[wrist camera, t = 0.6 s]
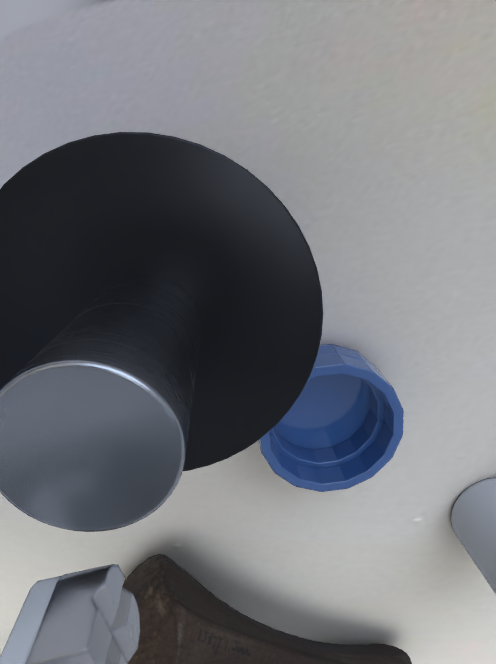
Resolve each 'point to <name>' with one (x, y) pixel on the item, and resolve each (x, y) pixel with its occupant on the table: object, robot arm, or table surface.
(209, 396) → the lid
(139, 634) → the robot arm
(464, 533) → the cup
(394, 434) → the bottle cap
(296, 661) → the dark brown bone
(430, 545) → the table surface
